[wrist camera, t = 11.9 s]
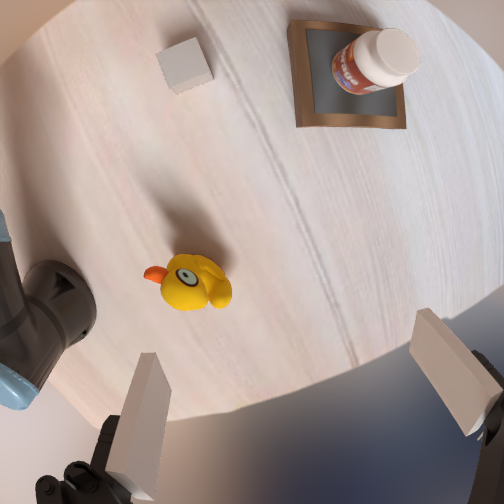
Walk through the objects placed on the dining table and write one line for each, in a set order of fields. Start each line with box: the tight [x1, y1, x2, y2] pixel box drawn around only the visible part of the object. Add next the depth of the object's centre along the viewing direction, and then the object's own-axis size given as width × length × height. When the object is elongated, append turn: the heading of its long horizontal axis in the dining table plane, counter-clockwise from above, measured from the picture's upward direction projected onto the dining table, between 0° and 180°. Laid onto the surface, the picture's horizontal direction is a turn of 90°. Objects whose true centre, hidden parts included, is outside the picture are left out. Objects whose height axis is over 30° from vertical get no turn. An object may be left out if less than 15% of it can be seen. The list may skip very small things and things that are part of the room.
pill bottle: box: [332, 28, 420, 95], centre depth 23 cm, size 6×6×11 cm
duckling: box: [144, 254, 232, 311], centre depth 37 cm, size 11×5×10 cm, turn 58°
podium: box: [287, 20, 406, 129], centre depth 31 cm, size 14×14×4 cm
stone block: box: [156, 37, 214, 95], centre depth 29 cm, size 5×5×5 cm
